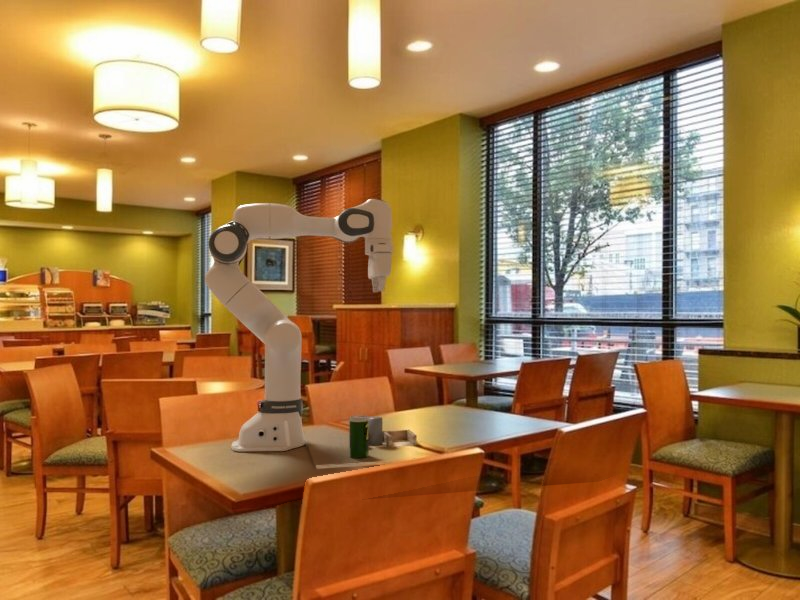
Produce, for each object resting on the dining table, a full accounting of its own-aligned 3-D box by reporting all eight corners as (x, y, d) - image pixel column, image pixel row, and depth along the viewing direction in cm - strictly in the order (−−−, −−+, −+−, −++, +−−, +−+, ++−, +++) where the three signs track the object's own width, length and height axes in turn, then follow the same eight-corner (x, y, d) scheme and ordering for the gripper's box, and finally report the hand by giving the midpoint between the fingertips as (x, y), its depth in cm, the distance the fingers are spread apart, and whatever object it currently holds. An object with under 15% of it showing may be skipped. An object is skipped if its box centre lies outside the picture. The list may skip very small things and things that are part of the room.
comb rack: (363, 451, 176) (363, 438, 176) (358, 445, 185) (358, 432, 185) (416, 448, 180) (416, 435, 180) (409, 442, 188) (409, 429, 189)
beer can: (350, 462, 163) (350, 418, 163) (348, 458, 168) (348, 415, 168) (370, 461, 164) (370, 417, 164) (366, 457, 169) (366, 414, 170)
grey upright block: (368, 446, 179) (368, 419, 179) (366, 443, 183) (366, 416, 183) (383, 445, 180) (383, 418, 180) (380, 442, 184) (380, 416, 184)
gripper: (363, 252, 204) (363, 292, 203) (374, 245, 184) (375, 290, 184) (381, 252, 205) (381, 292, 205) (394, 246, 185) (394, 290, 185)
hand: (378, 291), depth 194 cm, fingers open, 8 cm apart
